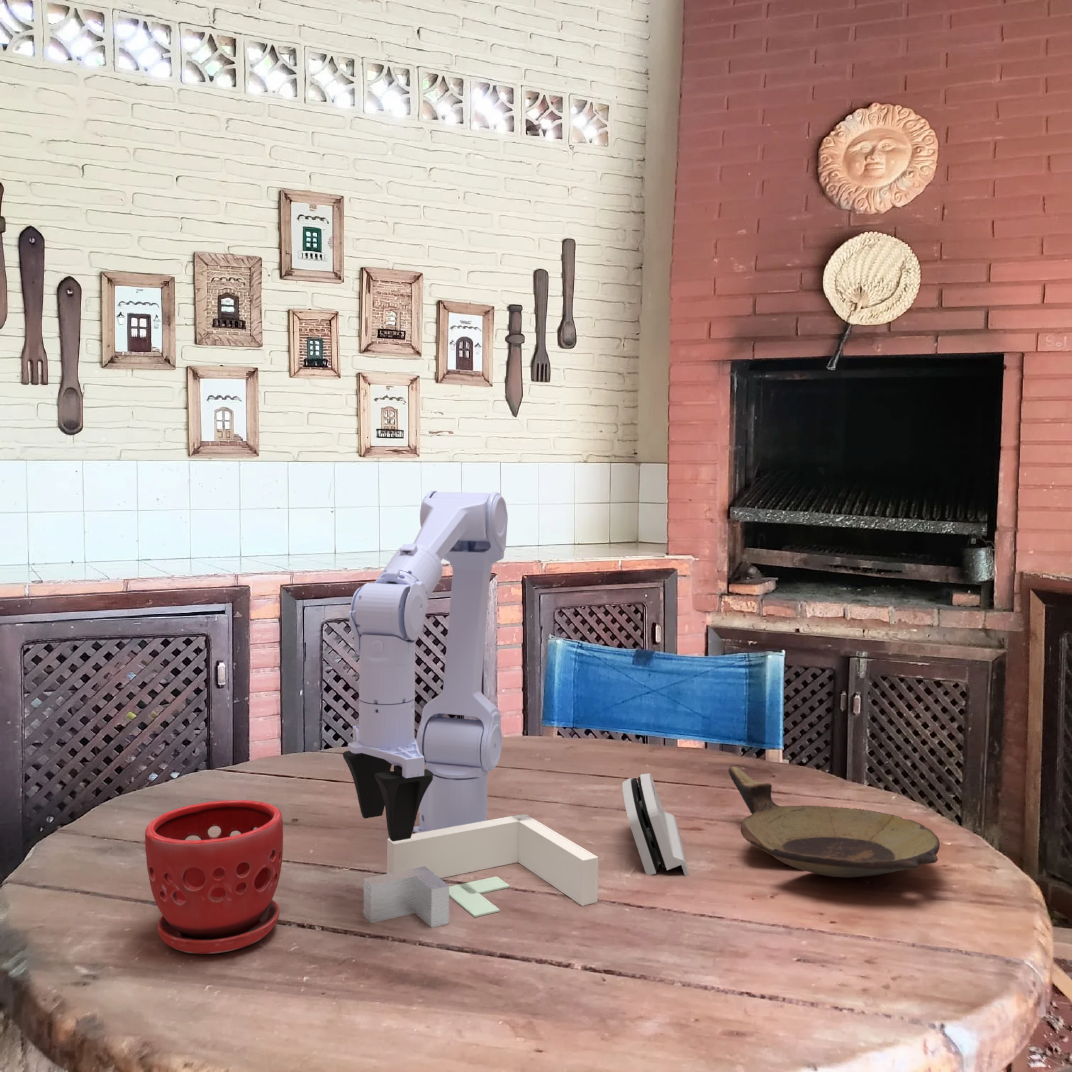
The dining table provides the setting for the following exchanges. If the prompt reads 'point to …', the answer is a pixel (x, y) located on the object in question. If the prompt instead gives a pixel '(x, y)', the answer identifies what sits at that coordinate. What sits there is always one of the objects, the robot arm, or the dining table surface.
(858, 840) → the brown frying pan
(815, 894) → the dining table surface
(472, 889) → the mat
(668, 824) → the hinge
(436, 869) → the corner wall
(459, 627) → the robot arm
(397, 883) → the bracket
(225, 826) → the plant pot
